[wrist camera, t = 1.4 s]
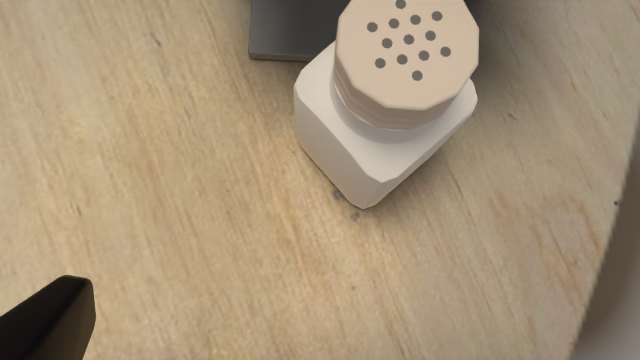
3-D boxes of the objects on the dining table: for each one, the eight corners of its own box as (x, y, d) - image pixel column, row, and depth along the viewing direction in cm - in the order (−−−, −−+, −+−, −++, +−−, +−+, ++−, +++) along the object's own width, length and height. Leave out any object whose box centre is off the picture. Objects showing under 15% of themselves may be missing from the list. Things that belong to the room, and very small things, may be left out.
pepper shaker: (360, 218, 22) (403, 166, 13) (288, 136, 23) (278, 29, 13) (440, 147, 23) (537, 49, 13) (369, 69, 23) (414, -79, 14)
